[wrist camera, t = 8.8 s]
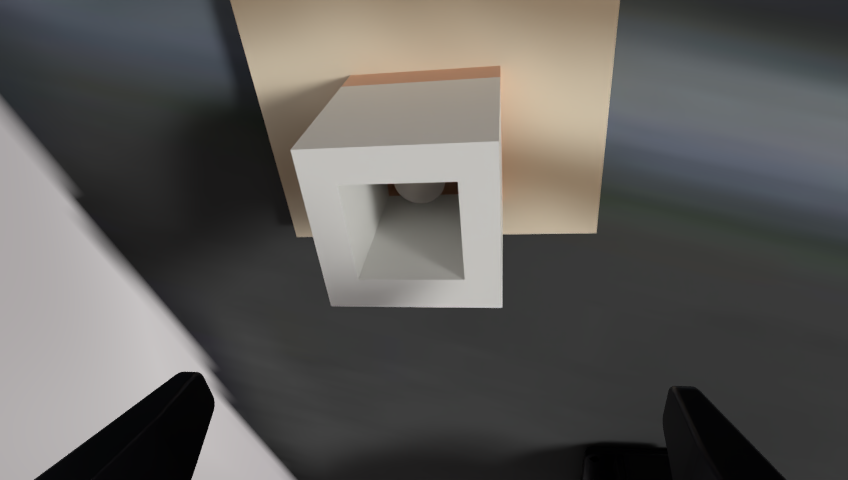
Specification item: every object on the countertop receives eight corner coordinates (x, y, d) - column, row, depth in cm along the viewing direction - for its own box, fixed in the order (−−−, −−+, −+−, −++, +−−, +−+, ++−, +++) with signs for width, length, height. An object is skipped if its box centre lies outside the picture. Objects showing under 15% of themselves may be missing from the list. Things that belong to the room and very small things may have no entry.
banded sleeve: (502, 200, 19) (502, 307, 14) (373, 203, 20) (331, 306, 15) (500, 65, 17) (498, 141, 12) (350, 75, 17) (290, 149, 13)
